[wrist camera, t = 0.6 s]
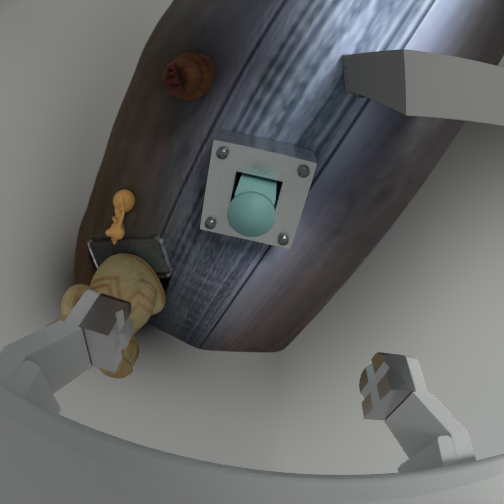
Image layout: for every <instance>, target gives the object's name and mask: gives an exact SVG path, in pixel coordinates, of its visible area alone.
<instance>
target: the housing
mask: <svg viewBox="0 0 504 504" xmlns="http://www.w3.org/2000/svg"><path fill="white" fill-rule="evenodd" d="M316 166H317V161H316V158H315V155H314V152H313V150H311V149H307V148H303V147H300V146H296V145H292V144H288V143H284V142H279V141H275V140H271V139H266V138H262V137H257V136H253V135H248V134H243V133H239V132H234V131H228V130H222V131H221V132H220V133H219V134H218V136H217V137H216V138H215V139H214V141H213V147H212V153H211V159H210V165H209V171H208V177H207V184H206V190H205V197H204V203H203V210H202V217H201V224H200V229H201V230H206V231H210V232H215V233H219V234H224V235H228V236H233V237H238V238H242V239H246V240H251V241H255V242H260V243H264V244H269V245H273V246H278V247H282V248H286V249H291V246H292V243H293V240H294V237H295V233H296V230H297V227H298V224H299V221H300V218H301V215H302V211H303V208H304V205H305V202H306V199H307V195H308V192H309V189H310V186H311V182H312V179H313V176H314V172H315V169H316ZM239 172H242V173H247V174H251V175H256V176H260V177H265V178H269V179H273V180H278V181H279V184H278V188H277V192H276V200H275V204H274V208H275V222H274V224H273V226H272V228H271V229H270V230H269V231H268V232H267V234H263V235H261V236H258V237H247V236H243V235H241V234H239V233H237V232H236V231H235V230H233V228H232V227H231V226H229V222H228V219H227V210H228V207H229V204H230V202H231V201H232V199H233V198H234V197H235V190H236V185H237V180H238V175H239Z"/></svg>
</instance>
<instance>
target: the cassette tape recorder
mask: <svg viewBox="0 0 504 504" xmlns="http://www.w3.org/2000/svg"><path fill="white" fill-rule="evenodd" d="M342 57H343V68H344V81H345V93H355V96H358V97H366V98H369V99H372V100H374V101H376V102H379V103H381V104H383V105H385V106H387V107H390V108H392V109H394V110H396V111H398V112H400V113H402V114H404V115H406V116H418V117H432V118H444V119H454V120H463V121H472V122H480V123H487V124H493V125H500V126H504V68H502V67H498V66H495V65H491V64H486V63H482V62H478V61H473V60H469V59H464V58H459V57H453V56H448V55H442V54H435V53H429V52H421V51H413V50H404V49H403V50H390V51H379V52H369V53H360V54H353V55H342Z"/></svg>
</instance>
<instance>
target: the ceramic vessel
mask: <svg viewBox="0 0 504 504" xmlns="http://www.w3.org/2000/svg"><path fill="white" fill-rule="evenodd" d="M89 289H90V290H93V291H96V292H99V293H103V294H106V295H109V296H113V297H116V298H119V299H122V300H125V301H129V302H130V303H131V308H132V311H131V313H130V315H129V317H130V318H131V319H132V323H133V328H132V334H131V338H130V341H129V344H128V346H127V347H126V348H125V349H123V350H121V353H122V359H121V361H120V363H119V365H118V367H117V370H116V372H115V373H114V372H111V371H108V370H105V369H101V368H99V369H100V370H101V371H102V372H103V373H104V374H105V375H107V376H109V377H113V378H123V377H126V376H128V375H129V374H131V373H132V371H133V365H134V363H135V362H136V360H137V358H138V355H139V347H138V343H137V341H136V340H135V338H134V334H135V333H136V332H137V331H138V330H139V329H140V328H141V327H142V326H143V325H144V324H146V322H147V321H148V319H149V318H150V316H151V315H153V314H157V313H159V312H160V311H161V310H162V309H163V308H164V306H165V300H166V297H165V292H164V289H163V287H162V284H161V282H160V280H159V278H158V276H157V274H156V273H155V271H154V270H153V269H152V267H151V266H150V265H149V264H148V263H147V262H146V261H145V260H143V259H142V258H140V257H138V256H136V255H133V254H129V253H119V254H115V255H112V256H110V257H109V258H107V259H106V260H105V261H104V262H103V263H102V264H101V265H100V267H99V268H98V269H97V271H96V273H95V274H94V276H93V279H92V281H91V284H90V287H89V286H87V285H84V284H77V285H73V286H71V287H69V289H67V291H66V292H65V294H64V296H63V299H62V304H61V310H62V316H61V317H60V318H59V319H57V320H56V321H54V322H53V323H56V322H58V321H60V320H61V321H65V319H66V318H67V316H68V315H69V314H70V312H71V311H72V309H73V308H74V306H75V305H76V303H77V301H78V300H79V299H80V298H81V297H82V295H83V294H84V292H85V291H87V290H89ZM53 323H51V324H53ZM51 324H49V325H51ZM49 325H47V326H49ZM47 326H46V327H47Z"/></svg>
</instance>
